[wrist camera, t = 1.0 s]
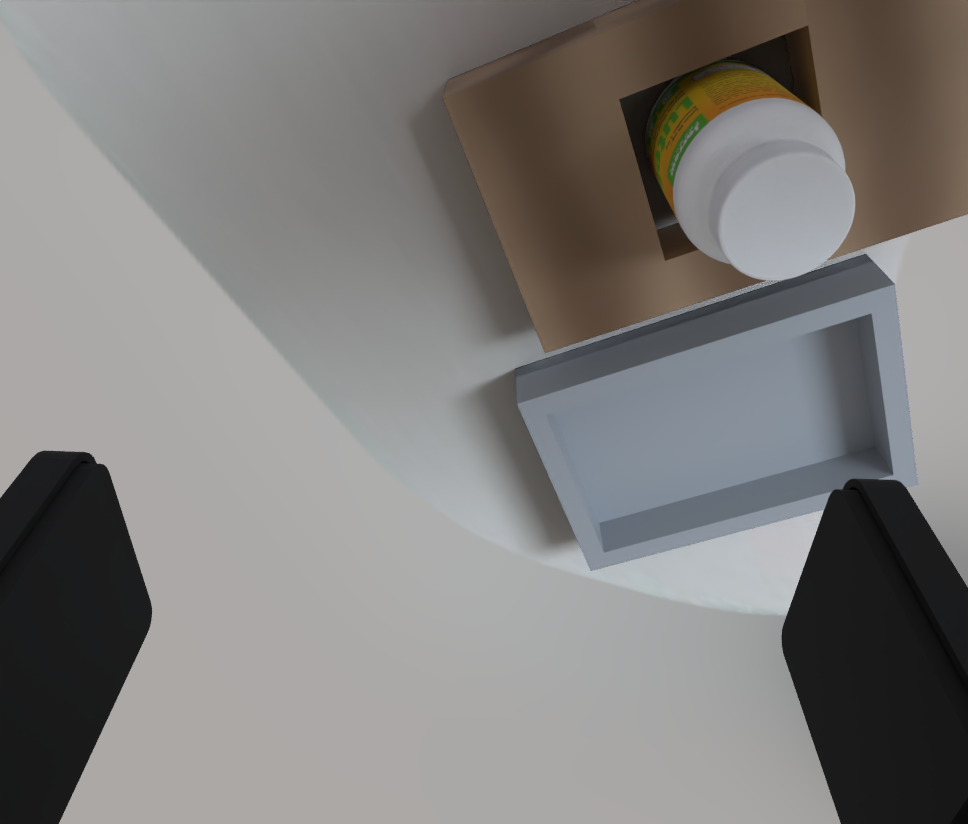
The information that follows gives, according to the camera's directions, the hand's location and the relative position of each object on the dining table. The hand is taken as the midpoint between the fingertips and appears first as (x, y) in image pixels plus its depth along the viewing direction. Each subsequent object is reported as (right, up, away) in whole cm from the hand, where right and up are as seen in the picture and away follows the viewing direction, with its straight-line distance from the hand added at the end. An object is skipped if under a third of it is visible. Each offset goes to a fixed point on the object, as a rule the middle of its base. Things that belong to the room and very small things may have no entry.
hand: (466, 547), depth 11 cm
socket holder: (+9, +13, +21) cm, 26 cm away
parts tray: (+11, +2, +28) cm, 30 cm away
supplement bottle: (+9, +13, +21) cm, 26 cm away
